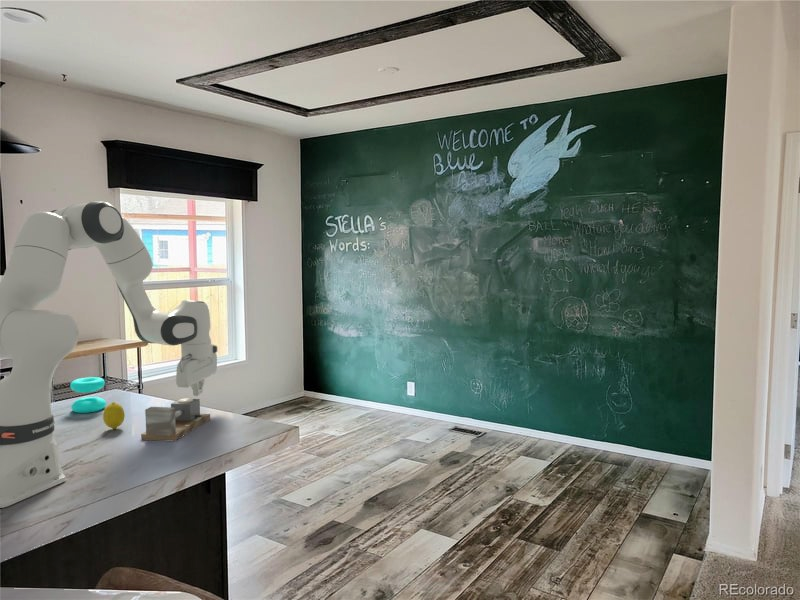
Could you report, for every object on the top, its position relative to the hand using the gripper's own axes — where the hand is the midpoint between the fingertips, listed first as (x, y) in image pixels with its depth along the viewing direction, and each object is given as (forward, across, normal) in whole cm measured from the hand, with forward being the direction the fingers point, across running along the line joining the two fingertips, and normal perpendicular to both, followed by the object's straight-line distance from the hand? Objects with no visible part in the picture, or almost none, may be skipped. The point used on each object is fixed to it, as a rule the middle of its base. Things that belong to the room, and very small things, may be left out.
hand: (198, 394), depth 183 cm
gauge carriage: (+5, -10, -1) cm, 11 cm away
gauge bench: (+6, -14, 0) cm, 15 cm away
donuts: (+7, +2, +39) cm, 39 cm away
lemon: (+7, -16, +18) cm, 25 cm away
